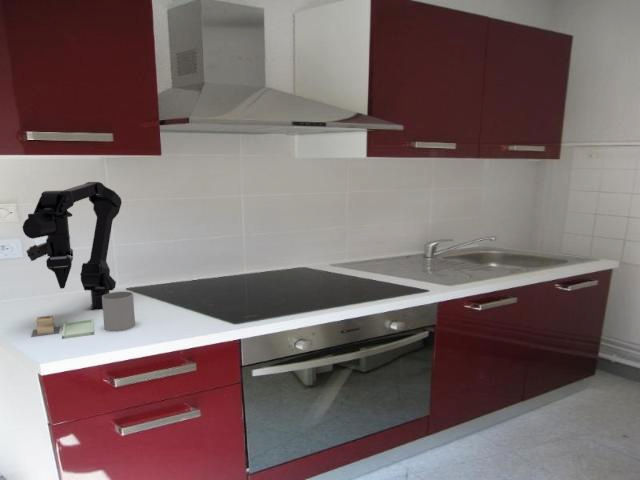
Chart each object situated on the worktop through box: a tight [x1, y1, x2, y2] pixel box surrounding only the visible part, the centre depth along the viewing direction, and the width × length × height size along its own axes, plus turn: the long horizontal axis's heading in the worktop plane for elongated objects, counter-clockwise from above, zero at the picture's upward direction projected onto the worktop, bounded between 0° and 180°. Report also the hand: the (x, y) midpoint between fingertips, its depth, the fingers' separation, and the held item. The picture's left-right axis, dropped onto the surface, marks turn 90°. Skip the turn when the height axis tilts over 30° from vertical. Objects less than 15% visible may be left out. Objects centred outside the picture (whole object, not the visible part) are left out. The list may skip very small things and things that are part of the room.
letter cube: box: [35, 314, 55, 335], centre depth 143 cm, size 4×4×4 cm
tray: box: [61, 318, 95, 340], centre depth 145 cm, size 13×8×1 cm, turn 25°
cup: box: [102, 291, 136, 333], centre depth 146 cm, size 8×8×10 cm
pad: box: [30, 325, 61, 338], centre depth 143 cm, size 7×7×1 cm
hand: (63, 284), depth 150 cm, fingers open, 9 cm apart
